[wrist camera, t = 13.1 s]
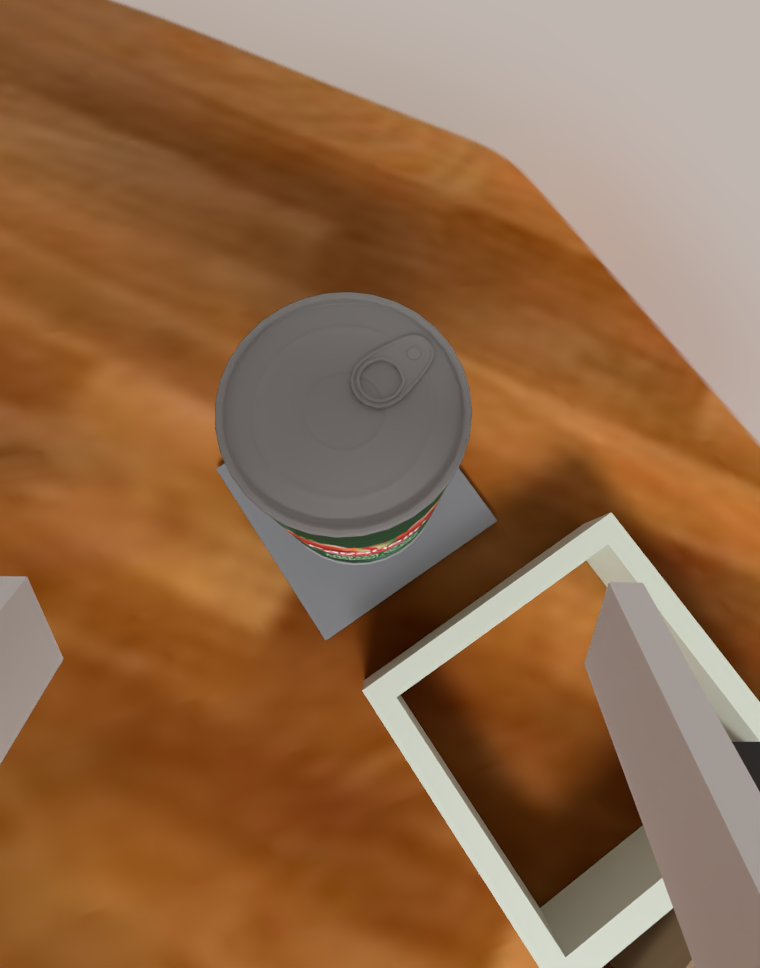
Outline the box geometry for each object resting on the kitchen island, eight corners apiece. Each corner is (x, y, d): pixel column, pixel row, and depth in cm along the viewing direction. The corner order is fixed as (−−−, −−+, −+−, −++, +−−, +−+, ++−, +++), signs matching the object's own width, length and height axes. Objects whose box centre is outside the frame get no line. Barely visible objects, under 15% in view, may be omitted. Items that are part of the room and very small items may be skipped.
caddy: (364, 679, 26) (362, 690, 23) (583, 523, 28) (611, 512, 24) (658, 1136, 23) (707, 1230, 19) (892, 926, 24) (976, 979, 21)
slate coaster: (218, 470, 28) (216, 468, 28) (381, 366, 30) (381, 363, 29) (326, 640, 27) (325, 640, 26) (495, 522, 28) (497, 520, 27)
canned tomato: (346, 599, 27) (322, 594, 16) (245, 476, 28) (160, 394, 17) (470, 493, 28) (526, 422, 17) (367, 379, 29) (359, 245, 18)
